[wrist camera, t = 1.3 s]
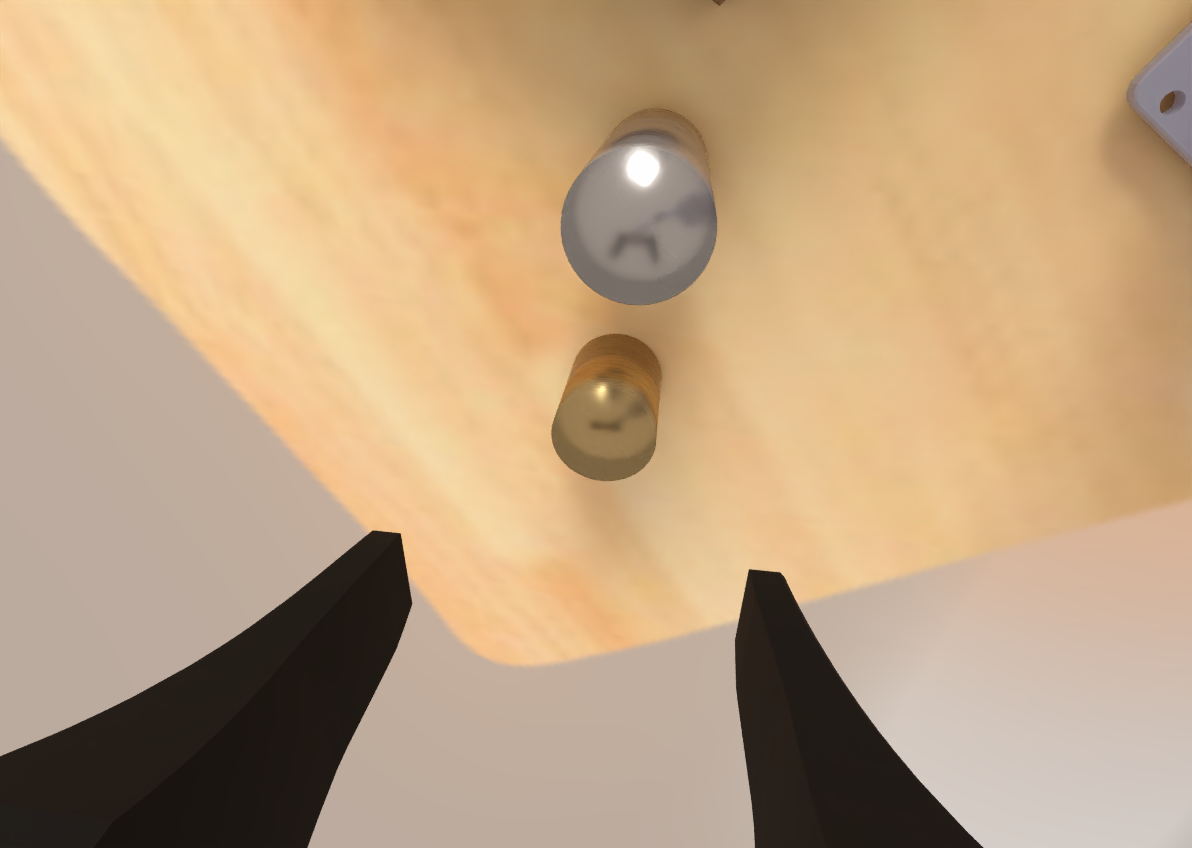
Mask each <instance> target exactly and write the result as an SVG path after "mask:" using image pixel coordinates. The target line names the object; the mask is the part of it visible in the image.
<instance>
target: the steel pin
mask: <svg viewBox="0 0 1192 848" xmlns="http://www.w3.org/2000/svg"><path fill="white" fill-rule="evenodd" d="M716 234H717V217H716V210H715V204H714V197H713V191H712V184H711V177H710V171H709V164H708V158H707V151H706V148H705V144H704V142H703V140H702V137H701V136H700V134H699V132H698V131H697V130H696V128H695V127H694V126H693V125H692V124H691V123H690V122H689V121H688V120H687V119H685V118H684V117H682V116H681V115H679V114H677V113H674V112H671V111H668V110H663V109H650V110H644V111H640V112H638V113H635V114H633V115H631V116H630V117H628V118H626V119H625V120H624V121H623V122H621V123H620V124H619V125H618V126H617V127H616V128H615V130H614V131H613V132H612V134H611V135H610V136H609V137H608V139H607V140H606V141H605V142H604V144H603V145H602V146H601V148H600V149H599V150H598V151H597V153H596V154H595V155H594V157H593V158H592V159H591V160H590V162H589V163H588V164H587V166H586V167H585V168H584V169H583V171H582V172H581V173H580V175H579V176H578V177H577V179H576V180H575V181H574V183H573V184H572V186H571V188H570V190H569V192H568V194H567V197H566V199H565V202H564V206H563V210H562V216H561V236H562V243H563V247H564V250H565V253H566V256H567V258H568V260H569V262H570V264H571V266H572V268H573V269H574V271H575V272H576V274H577V275H578V276H579V278H580V279H581V280H582V281H583V282H584V283H585V284H586V285H587V286H589V287H590V288H591V289H592V290H594V291H595V292H597V293H598V294H600V295H601V296H603V297H606V298H608V299H610V300H613V301H616V302H619V303H624V304H629V305H648V304H654V303H658V302H661V301H665V300H668V299H670V298H672V297H674V296H676V295H678V294H679V293H681V292H682V291H684V290H685V289H686V288H688V287H689V286H690V285H691V284H692V283H693V282H694V281H695V280H696V279H697V278H698V277H699V276H700V274H701V273H702V272H703V270H704V269H705V267H706V265H707V263H708V262H709V260H710V257H711V255H712V252H713V249H714V245H715V241H716Z"/></svg>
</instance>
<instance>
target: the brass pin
mask: <svg viewBox="0 0 1192 848" xmlns="http://www.w3.org/2000/svg"><path fill="white" fill-rule="evenodd" d="M660 387H661V368H660V364H659V362H658V360H657V358H656V356H655V354H654V353H653V352H652V350H651V349H650V348H649V347H648V346H646V345H645V344H644V343H643V342H641V341H639V340H637V339H635V338H633V337H630V336H627V335H621V334H609V335H604V336H600V337H598V338H595V339H593V340H592V341H590V342H588V343H587V344H586V345H585V346H584V347H583V348H582V349H581V350H580V352H579V353H578V355H577V357H576V359H575V361H574V364H573V367H572V370H571V373H570V375H569V378H568V381H567V384H566V387H565V390H564V392H563V395H562V398H561V401H560V404H559V407H558V409H557V412H556V415H555V418H554V421H553V424H552V442H553V445H554V448H555V450H556V452H557V454H558V456H559V457H560V459H561V460H562V461H563V462H564V463H565V464H566V465H567V466H568V467H569V468H570V469H572V470H573V471H575V472H576V473H578V474H580V475H582V476H584V477H587V478H590V479H594V480H600V481H614V480H620V479H624V478H627V477H630V476H632V475H634V474H636V473H637V472H639V471H640V470H641V469H642V468H644V467H645V466H646V464H647V463H648V462H649V461H650V459H651V457H652V455H653V453H654V450H655V446H656V435H657V423H658V411H659V399H660Z"/></svg>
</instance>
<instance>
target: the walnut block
mask: <svg viewBox="0 0 1192 848" xmlns="http://www.w3.org/2000/svg"><path fill="white" fill-rule="evenodd" d="M713 1H714V2H716V3H717V4H718V5H719V6H720V5H721V4H722V3H723V2H724V1H725V0H713Z"/></svg>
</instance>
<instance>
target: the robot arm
mask: <svg viewBox="0 0 1192 848" xmlns="http://www.w3.org/2000/svg"><path fill="white" fill-rule="evenodd" d="M1172 91H1173V92H1174V94H1175V100H1174V103H1173V104H1172V106H1171V107H1170V108H1169V109H1168V110H1166V111H1164V112H1163V113H1161V111H1160V103H1161V101H1162V99H1163V98H1164V97H1165V95H1167V94H1168V93H1170V92H1172ZM1127 102H1128V103H1129V105H1130V107H1131V108H1132V109H1133V110H1134V111H1135V112H1136V113H1137V114H1138V115H1139V116H1140V117H1141V118H1142V119H1143V120H1144V121H1145V122H1146V123H1147V124H1148V125H1149V126H1150V127H1151V128H1152V129H1153V130H1154V131H1155V132H1156V133H1157V134H1158V135H1159V136H1160V137H1161V138H1162V139H1163V140H1164V141H1165V142H1166V143H1167V144H1168V145H1169V146H1170V147H1171V148H1172V149H1173V150H1174V151H1175V152H1176V153H1177V154H1178V155H1179V156H1180V157H1181V158H1182V159H1183V160H1184V161H1185V162H1186V163H1187V164H1188V165H1189V166H1191V167H1192V22H1191V23H1190V24H1189V25H1188V26H1187V27H1186V28H1185V29H1184V30H1183V31H1182V32H1181V33H1180V34H1179V35H1177V36H1176V37H1175V38H1174V39H1173V40H1172V41H1171V42H1170V43H1169V44H1168V45H1167V46H1166V47H1165V48H1164V49H1163V50H1162V51H1161V52H1160V53H1159V54H1158V55H1157V56H1156V57H1155V58H1154V59H1153V60H1151V61H1150V62H1149V63H1148V64H1147V65H1146V66H1145V67H1144V68H1143V69H1142V70H1141V71H1140V72H1139V73H1138V74H1137V75H1136V76H1135V78H1134V79H1133V80H1132V81H1131V83H1130V85H1129V87H1128V90H1127ZM411 606H412V599H411V593H410V587H409V581H408V575H407V569H406V563H405V557H404V551H403V545H402V539H401V533H392V532H383V531H372V532H370V533H369V534H368V535H367V536H365V537H364V538H363V539H362V540H361V541H359V542H358V543H357V544H356V545H354V546H353V547H352V548H351V549H349V550H348V551H347V552H346V553H344V554H343V555H342V556H341V557H340V558H338V559H337V560H336V561H335V562H334V563H332V564H331V565H330V566H329V567H327V568H326V569H325V570H324V571H323V572H321V573H320V574H319V575H318V576H316V577H315V578H314V579H313V580H312V581H310V582H309V583H308V584H306V585H305V586H304V587H303V588H301V589H300V590H299V591H298V592H296V593H295V594H294V595H293V596H292V597H290V598H289V599H287V600H286V601H285V602H283V603H282V604H281V605H279V606H278V607H276V608H275V609H274V610H272V611H271V612H270V613H268V614H267V615H266V616H264V617H263V618H261V619H260V620H259V621H257V622H256V623H255V624H253V625H252V626H251V627H249V628H248V629H246V630H245V631H243V632H242V633H241V634H239V635H237V636H236V637H235V638H233V639H231V640H230V641H228V642H227V643H226V644H224V645H222V646H221V647H219V648H218V649H216V650H214V651H213V652H211V653H209V654H208V655H206V656H205V657H203V658H201V659H200V660H198V661H197V662H195V663H193V664H192V665H190V666H188V667H186V668H185V669H183V670H181V671H179V672H177V673H176V674H174V675H172V676H170V677H168V678H167V679H165V680H163V681H161V682H159V683H158V684H156V685H154V686H152V687H150V688H148V689H147V690H145V691H143V692H141V693H139V694H137V695H136V696H134V697H132V698H130V699H128V700H126V701H124V702H122V703H120V704H118V705H116V706H114V707H112V708H110V709H108V710H105V711H103V712H101V713H99V714H97V715H95V716H93V717H91V718H89V719H87V720H85V721H82V722H80V723H78V724H76V725H74V726H72V727H69V728H67V729H65V730H62V731H60V732H58V733H56V734H53V735H51V736H48V737H46V738H44V739H41V740H39V741H36V742H34V743H31V744H29V745H27V746H24V747H22V748H19V749H17V750H14V751H12V752H10V753H7V754H5V755H2V756H0V848H307V847H308V844H309V841H310V839H311V836H312V833H313V831H314V828H315V825H316V823H317V819H318V817H319V815H320V812H321V809H322V807H323V804H324V802H325V799H326V796H327V794H328V791H329V789H330V786H331V784H332V781H333V779H334V776H335V773H336V771H337V769H338V766H339V764H340V762H341V760H342V758H343V755H344V753H345V751H346V749H347V746H348V745H349V742H350V741H351V739H352V737H353V735H354V733H355V731H356V729H357V727H358V725H359V723H360V721H361V719H362V717H363V715H364V713H365V711H366V709H367V707H368V705H369V703H370V701H371V699H372V697H373V695H374V693H375V691H376V689H377V687H378V685H379V683H380V681H381V679H382V677H383V675H384V673H385V671H386V669H387V667H388V665H389V663H390V661H391V659H392V657H393V655H394V653H395V650H396V648H397V646H398V643H399V640H400V638H401V635H402V632H403V629H404V627H405V624H406V621H407V618H408V615H409V612H410V609H411ZM735 662H736V663H735V664H736V690H737V699H738V707H739V714H740V722H741V729H742V736H743V743H744V750H745V758H746V765H747V772H748V779H749V786H750V794H751V801H752V811H753V821H754V834H755V848H983V847H982V846H981V845H980V844H979V843H978V842H977V841H976V840H975V839H974V838H973V837H972V836H971V835H970V834H969V833H968V832H967V831H966V830H965V829H964V828H963V827H962V826H961V825H960V824H959V823H958V822H957V821H956V820H955V818H954V817H953V816H952V815H951V814H950V813H949V812H948V811H947V810H946V809H945V808H944V807H943V806H942V805H941V803H939V801H938V800H937V799H936V798H935V797H934V796H933V795H932V794H931V793H930V792H929V790H928V789H927V788H925V786H924V785H923V784H922V783H921V782H920V781H919V780H918V779H917V777H916V776H915V775H914V774H913V773H912V771H911V770H910V769H909V768H908V767H907V765H906V764H905V763H904V762H903V761H902V760H901V758H900V757H899V756H898V755H897V754H896V752H895V751H894V750H893V749H892V747H891V746H890V745H889V744H888V742H887V741H886V740H885V739H884V737H883V736H882V735H881V734H880V732H879V731H878V730H877V728H876V727H875V726H874V724H873V723H872V722H871V720H870V719H869V718H868V716H867V715H866V713H865V712H864V711H863V709H862V708H861V707H860V705H859V704H858V702H857V701H856V699H855V698H854V696H853V695H852V694H851V692H850V691H849V689H848V688H847V686H846V685H845V684H844V682H843V680H842V679H841V677H840V676H839V674H838V673H837V671H836V670H835V668H834V666H833V665H832V663H831V662H830V660H829V658H828V657H827V655H826V653H825V652H824V650H823V648H822V647H821V645H820V643H819V642H818V640H817V639H816V637H815V635H814V633H813V632H812V630H811V628H810V626H809V624H808V623H807V621H806V619H805V617H804V615H803V613H802V612H801V610H800V608H799V606H798V604H797V602H796V600H795V598H794V596H793V594H792V592H791V590H790V588H789V586H788V584H787V582H786V579H785V577H784V576H783V575H782V574H781V573H780V572H770V571H761V570H751V569H749V572H748V577H747V582H746V587H745V592H744V597H743V602H742V607H741V613H740V618H739V623H738V628H737V633H736V638H735Z"/></svg>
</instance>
